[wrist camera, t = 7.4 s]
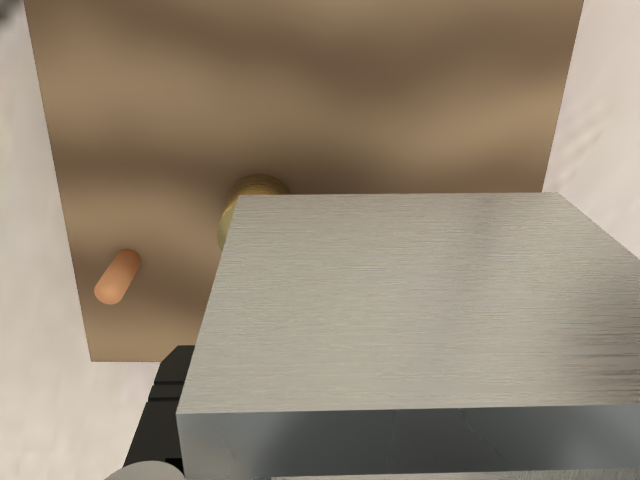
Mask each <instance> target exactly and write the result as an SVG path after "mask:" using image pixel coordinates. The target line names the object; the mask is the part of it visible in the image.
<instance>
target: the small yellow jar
mask: <svg viewBox="0 0 640 480" xmlns="http://www.w3.org/2000/svg"><path fill="white" fill-rule="evenodd" d="M239 195H291V193H290V191H289V190H288V188H287V187H286V186H285V185H284V184H283V183H282V182H281V181H280V180H278V179H277V178H275V177H273V176H270V175H266V174H253V175H249V176H246V177H244V178H242V179H241V180H239V181H238V182H237V183H236V184H235V185H234V186H233V188H232V189H231V191H230V193H229V196H228V199H227V202H226V205H225V208H224V211H223V214H222V217H221V220H220V223H219V226H218V230H217V240H218V244H219V247H220V249H221V251H222V252H223V248H224V245H225V241H226V238H227V234H228V231H229V227H230V224H231V220H232V217H233V214H234V210H235V207H236V203H237V200H238V196H239Z"/></svg>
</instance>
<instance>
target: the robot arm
mask: <svg viewBox="0 0 640 480" xmlns="http://www.w3.org/2000/svg"><path fill="white" fill-rule="evenodd" d="M194 349H195V345H178V346H177V347H176V348H175V349H174V350H173V351H172V352H171V353H170V354H169V355H168V356H167V357H166V358H165V359H164V360H163V361H162V362H161V364H160V367H159V369H158V372H157V375H156V378H155V380H154V385H153V386H152V388H151V391H150V394H149V397H148V402H146V405H145V408H144V410H143V413H142V416H141V419H140V421H139V424H138V427H137V430H136V432H135V435H134V438H133V441H132V443H131V446H130V449H129V452H128V454H127V457H126V460H125V463H124V465H123V467H122V468H121V469H119V470H117V471H116V472H114V473H113V474H111V475H110V476H109V477H107V478H106V479H105V480H185V474H184V467H183V460H182V454H181V447H180V440H179V433H178V426H177V420H176V411H177V407H178V404H179V401H180V397H181V394H182V390H183V387H184V383H185V380H186V376H187V373H188V369H189V366H190V362H191V359H192V356H193V352H194Z"/></svg>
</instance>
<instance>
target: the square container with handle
mask: <svg viewBox="0 0 640 480" xmlns="http://www.w3.org/2000/svg"><path fill="white" fill-rule="evenodd" d="M176 420H177V426H178V433H179V440H180V447H181V454H182V460H183V467H184V474H185V480H640V260H639V259H638V258H637V257H636V256H635V255H633V254H632V253H631V252H630V251H628V250H627V249H626V248H625V247H624V246H622V245H621V244H620V243H619V242H618V241H616V240H615V239H614V238H613V237H611V236H610V235H609V234H608V233H607V232H605V231H604V230H603V229H602V228H600V227H599V226H598V225H597V224H596V223H594V222H593V221H592V220H591V219H589V218H588V217H587V216H586V215H585V214H583V213H582V212H581V211H580V210H579V209H577V208H576V207H575V206H574V205H572V204H571V203H570V202H569V201H568V200H566V199H565V198H564V197H563V196H561V195H560V194H559V193H558V192H548V193H432V194H316V195H239V196H238V200H237V203H236V207H235V210H234V214H233V217H232V220H231V224H230V227H229V231H228V234H227V238H226V241H225V245H224V248H223V252H222V255H221V259H220V262H219V266H218V269H217V272H216V276H215V279H214V283H213V286H212V290H211V293H210V297H209V300H208V304H207V307H206V311H205V314H204V317H203V321H202V324H201V328H200V331H199V335H198V338H197V342H196V345H195V349H194V352H193V356H192V359H191V362H190V366H189V369H188V373H187V376H186V380H185V383H184V387H183V390H182V394H181V397H180V401H179V404H178V407H177V411H176Z"/></svg>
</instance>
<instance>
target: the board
mask: <svg viewBox="0 0 640 480" xmlns="http://www.w3.org/2000/svg"><path fill="white" fill-rule="evenodd" d="M583 2H584V0H24V5H25V11H26V16H27V21H28V27H29V32H30V37H31V43H32V48H33V53H34V59H35V64H36V69H37V75H38V80H39V85H40V91H41V96H42V102H43V107H44V112H45V118H46V123H47V128H48V134H49V139H50V144H51V150H52V155H53V160H54V166H55V171H56V176H57V182H58V187H59V193H60V198H61V203H62V209H63V214H64V219H65V225H66V230H67V235H68V241H69V246H70V251H71V257H72V262H73V268H74V273H75V278H76V284H77V289H78V294H79V300H80V305H81V310H82V316H83V321H84V326H85V332H86V337H87V342H88V348H89V353H90V359H91V362H162V361H163V360H164V359H165V358H166V357H167V356H168V355H169V354H170V353H171V352H172V351H173V350H174V349H175V348H176V347H177V346H178V345H196V342H197V338H198V335H199V331H200V328H201V324H202V321H203V317H204V314H205V311H206V307H207V304H208V300H209V297H210V293H211V290H212V286H213V283H214V279H215V276H216V272H217V269H218V266H219V262H220V259H221V255H222V251H221V249H220V247H219V244H218V240H217V230H218V226H219V223H220V220H221V217H222V214H223V211H224V208H225V205H226V202H227V199H228V196H229V193H230V191H231V189H232V188H233V186H234V185H235V184H236V183H237V182H238V181H239V180H241V179H242V178H244V177H246V176H249V175H253V174H266V175H270V176H273V177H275V178H277V179H278V180H280V181H281V182H282V183H283V184H284V185H285V186H286V187H287V188H288V190H289V191H290V193H291V195H316V194H432V193H541V192H542V188H543V183H544V179H545V174H546V170H547V165H548V161H549V156H550V152H551V147H552V143H553V138H554V133H555V129H556V124H557V120H558V115H559V111H560V106H561V102H562V97H563V93H564V88H565V84H566V79H567V75H568V70H569V66H570V61H571V56H572V52H573V47H574V43H575V38H576V34H577V29H578V25H579V20H580V16H581V11H582V7H583ZM123 249H131V250H133V251H135V252H137V253H138V254H139V256H140V258H141V265H140V267H139V269H138V271H137V273H136V274H135V276H134V278H133V280H132V281H131V283H130V285H129V287H128V288H127V290H126V292H125V294H124V296H123V297H122V299H121V300H120V301H119V302H118V303H116V304H112V305H109V304H105V303H102V302H101V301H99V300H98V299H97V298H96V296H95V293H94V288H95V286H96V284H97V283H98V281H99V280H100V278H101V277H102V275H103V274H104V273H105V271H106V270H107V268H108V267H109V265H110V264H111V262H112V261H113V259H114V258H115V256H116V255H117V253H118V252H119V251H121V250H123Z"/></svg>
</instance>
